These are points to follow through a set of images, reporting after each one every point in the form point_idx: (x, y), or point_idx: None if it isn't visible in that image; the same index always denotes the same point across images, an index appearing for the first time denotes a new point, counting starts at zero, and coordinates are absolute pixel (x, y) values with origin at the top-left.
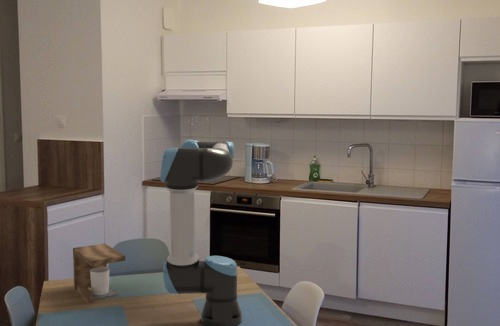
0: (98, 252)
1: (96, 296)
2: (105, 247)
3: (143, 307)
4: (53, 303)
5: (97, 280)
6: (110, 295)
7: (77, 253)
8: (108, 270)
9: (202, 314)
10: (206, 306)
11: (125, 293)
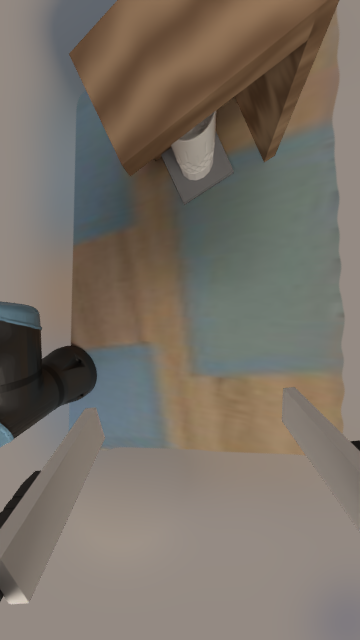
0: (175, 30)
1: (175, 160)
2: (257, 28)
3: (122, 262)
4: None
5: None
6: (177, 189)
7: None
8: (180, 141)
9: (56, 350)
10: (42, 359)
11: (195, 219)
